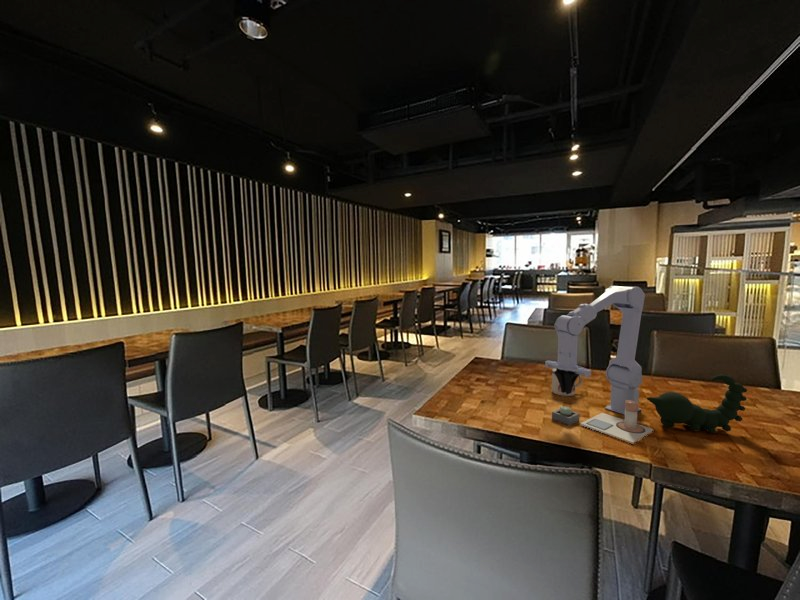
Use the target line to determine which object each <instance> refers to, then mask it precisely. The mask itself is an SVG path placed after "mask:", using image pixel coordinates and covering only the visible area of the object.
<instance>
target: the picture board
mask: <svg viewBox="0 0 800 600" xmlns="http://www.w3.org/2000/svg"><path fill="white" fill-rule="evenodd" d="M624 420H625V419H624V418H619V417H617V416H613V415H611V414H607V413H604V412H600V413H599V414H597V415H594V416H592V417H591V418H588V419H586V420H584V421H581V422H580V425H579V426H580V427H583V426H584V428H585V427H587V428H586V429H588V428H590V429H589V430H591V429H592V430H591V431H594V430H596V431H599V432H601V433H600V434H602V433H605V434H608V435H610V436H613V437H616V438H619V439H622V440H625V441H627V442H630V443H634V442H636V441H638V440H639V439H641V438H642V437H644V436H646V435H647V434H649V433H650V432H652V431H653V432H654V429H653V428H651V427H649V426H648V427H647V426H645V425H642V424H638V423H637V429H635V430H632V429H628V428H625V427H624ZM596 431H595V432H596ZM599 432H598V433H599ZM653 432H652V433H653ZM650 434H651V433H650ZM650 434H649V435H650ZM610 436H609V437H610ZM647 436H648V435H647ZM647 436H646V437H647ZM644 438H645V437H644ZM641 440H642V439H641ZM638 442H639V441H638Z"/></svg>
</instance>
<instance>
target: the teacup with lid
mask: <svg viewBox="0 0 800 600" xmlns="http://www.w3.org/2000/svg"><path fill="white" fill-rule="evenodd" d="M556 370H557V369H555V368H551V392H552V393H553V394H555V395H559V396H562V397H571V396H575V394H576V388H578V387H579V386H581V385H582V382H583V378H582V375H579V376H578V379H579V381H578V382H577V383H576V381H577V380H576V381H575V383H574V385H573V388H572V391H571V393H570V394H566V392H564V393H562V392H561V387H560V384H559V381H558V379H557V377H556V375H555V371H556Z"/></svg>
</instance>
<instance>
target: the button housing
mask: <svg viewBox="0 0 800 600" xmlns="http://www.w3.org/2000/svg"><path fill="white" fill-rule="evenodd" d="M551 420H553V421H555V420H556V421H555V422H558V423H560V422H561V424H563V423H564V425H566V426H568V425H570V426H572V425H574V424H575V423H578V422H580V413H579V412H576V411H573V410H572V415H571V416H569V417H568V416H565V415H562V414H560V408H558V409H556V410H553V411H551ZM571 424H572V425H571Z"/></svg>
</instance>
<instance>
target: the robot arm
mask: <svg viewBox="0 0 800 600" xmlns="http://www.w3.org/2000/svg"><path fill="white" fill-rule="evenodd" d="M645 297H646V293H645V292H644V291H643V290H642V288H641V287H640V286H619V285H610V286H609V287H608V288H606V289H604V292H603V293H602V294H601V295H599V297H597V298H596V299H595V300H593V301H592V302H590V303H589V304H588V303H581V304H579V305H578V307H577V308H575V309H574V310H572V311H569V312H568V313H567V314H566V315H565V314H564V315H563V314H562V315H560V316H559V317H557V318H556V320H555V323H554V326H553V327H554V329H555V330H556V337H557V338H558V339H557V361H556V360H555V361H554V360H549V359H548V360H546V361H545V362H544V363H545V364H544V367H546V368H551V369H553V368H555V369H557V370H556V371H555V375H556V377H557V379H558V381H559V384H560V387H561V392H562V393H564V392H566V394H570V393H571V391H572V388H573V385H574V383H575V384H576V382H575V381H577V379H579V377H578V376H584V377H585V378H589V377H591V376H592V369H588V368H585V367H582V366H581V365H578V345H579V343H578V341H579V337H578V336H579V334H580V333H582V331H583V329H584V327H585V326H586V325H587V324H589V323H590V322H592V321H594V320H595V319H596V317H597V315H598V313H599V312H601V311H603V310H604V309H606V308H608V307H609V306H611V305H612V306H614V307H615V308H617V309H618V310H620V311H619V312H621V313H622V316H621V317H622V318H621V324H620V330H619V337H618V344H617V351H616V357H613V358H612V359H610V360H609V363H608V366H607V368H606V370H605V376H606V379H607V380H608V381H609V384H610V401H609V403H610V404H609V405H607V406H605V407H604V409H605V410H608V411H612V412H616V413H619V414H622V415H624V416H625V401H626V400H631V401H635V402H637V403H638V404H639V399H640V390H639V389H638V388H639V387H640V386H641V384H642V382H643V374H642V369H643V368H642V366H641V365H640V364H639V363H638V362H637V361H636V360H635V358H636V354H637V353H636V352H637V347H638V341H639V340H638V339H639V334H640V333H639V332H640V325H641V321H642V320H641V319H642V314H643V313H642V312H643V310H644V304H645ZM641 410H642V408H641V407H638V412H639V411H641Z"/></svg>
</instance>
